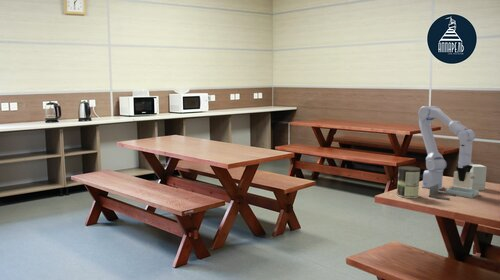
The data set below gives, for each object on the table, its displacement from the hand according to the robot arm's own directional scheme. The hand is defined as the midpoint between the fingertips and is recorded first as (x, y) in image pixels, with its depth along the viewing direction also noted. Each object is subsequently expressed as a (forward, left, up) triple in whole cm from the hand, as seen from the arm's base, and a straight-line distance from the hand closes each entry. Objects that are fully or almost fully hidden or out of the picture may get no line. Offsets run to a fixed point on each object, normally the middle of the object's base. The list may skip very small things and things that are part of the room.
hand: (463, 180), depth 249 cm
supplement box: (+1, +19, -8) cm, 20 cm away
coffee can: (-20, -23, -8) cm, 31 cm away
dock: (-6, -12, -7) cm, 15 cm away
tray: (0, 0, -7) cm, 7 cm away
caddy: (0, 0, -3) cm, 3 cm away
